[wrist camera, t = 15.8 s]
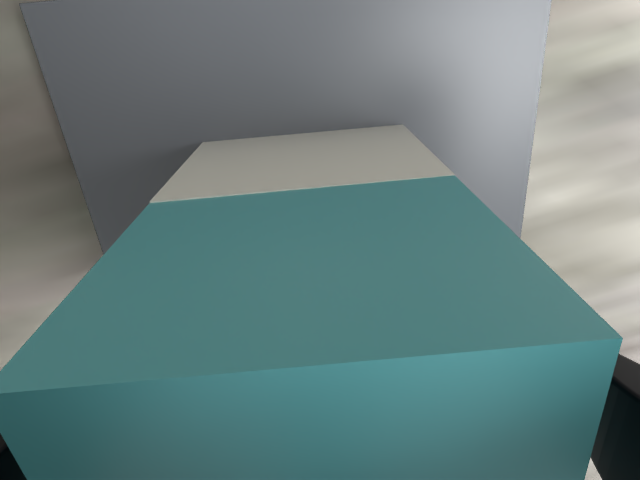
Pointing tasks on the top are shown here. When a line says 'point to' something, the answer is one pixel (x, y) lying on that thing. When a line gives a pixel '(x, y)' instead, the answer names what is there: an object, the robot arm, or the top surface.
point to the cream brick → (301, 163)
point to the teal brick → (314, 347)
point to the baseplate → (288, 85)
